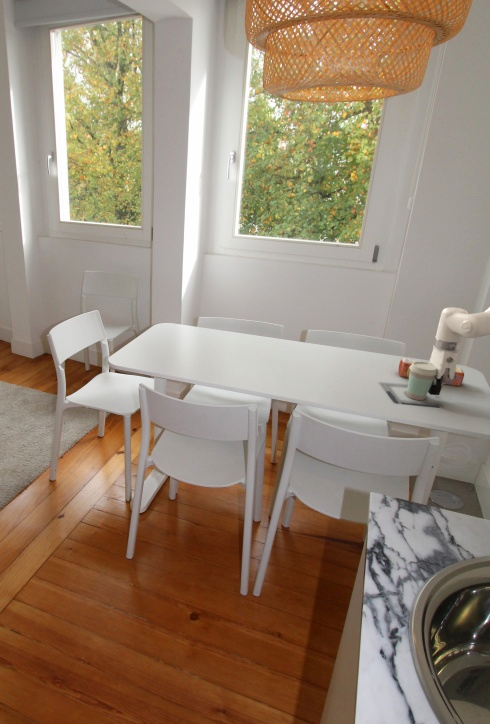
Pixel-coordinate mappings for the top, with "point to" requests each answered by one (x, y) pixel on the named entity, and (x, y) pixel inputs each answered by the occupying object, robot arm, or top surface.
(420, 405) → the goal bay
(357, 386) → the top surface
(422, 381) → the coffee cup
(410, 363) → the snack package
